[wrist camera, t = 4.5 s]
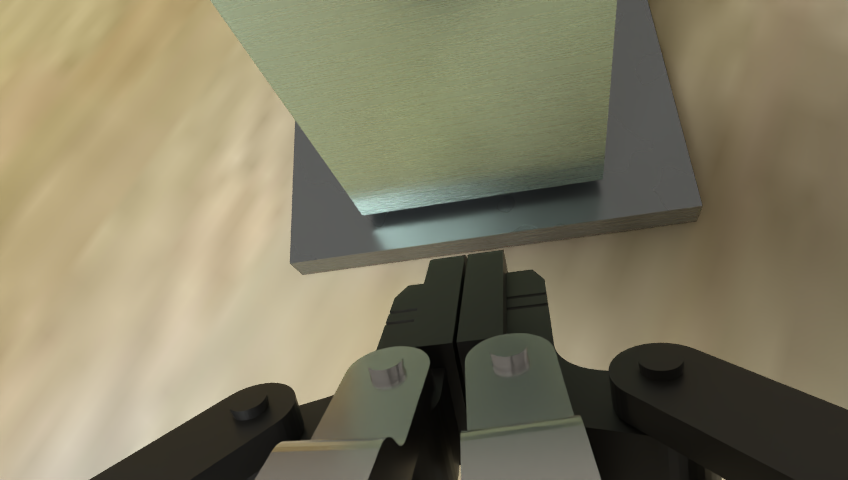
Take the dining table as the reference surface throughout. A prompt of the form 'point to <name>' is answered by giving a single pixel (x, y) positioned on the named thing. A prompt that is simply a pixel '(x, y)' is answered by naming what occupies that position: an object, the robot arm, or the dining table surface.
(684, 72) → the dining table surface
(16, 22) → the dining table surface
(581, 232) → the bearing block
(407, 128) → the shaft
